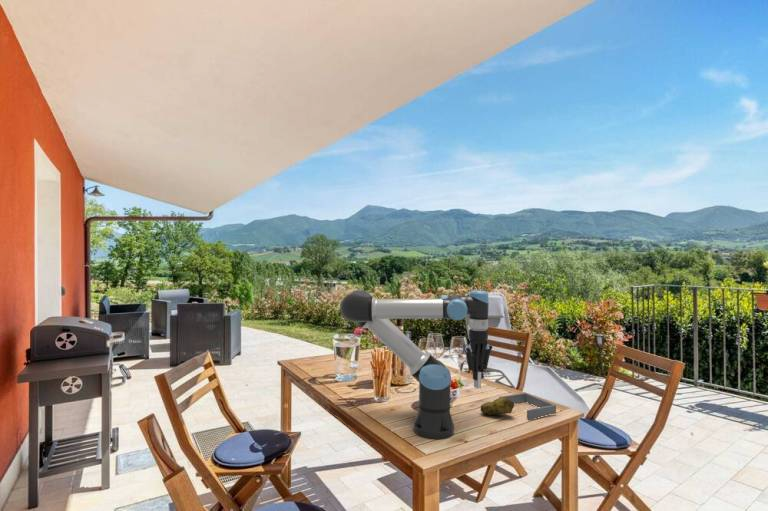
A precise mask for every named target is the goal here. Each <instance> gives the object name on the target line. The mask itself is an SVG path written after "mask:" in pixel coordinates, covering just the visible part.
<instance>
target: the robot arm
mask: <svg viewBox="0 0 768 511" xmlns="http://www.w3.org/2000/svg"><path fill="white" fill-rule="evenodd" d="M489 304H490V302H489V293H488V292H487V291H485V290H470V291H469V295H459V294H458V295H457V294H456V295H454V294H453V295H452V294H451V295H450V294H443V295H440V297H439V298H376V297H375V296H374V295H373V296H372V295H371V294H370V293H369V292H368V291H366V290H361V289H356V290H353V291H352V292H350V293H348V294H347V295H345V296H344V297H343V299H342V300H341V302H340V309H339V310H340V312H341V315H342V316H343V318H344V319H345V320H346V321H348V322H351V323H355V324H358V326H359V327H361V329H368V330H369V331H370V332H371V333H372V334H373V335H374V336H375V337H376V338H377V339H379V341H381V343H382V344H384V345H385V347H387V349H389V350H390V351H391V352H392V353H393V354H394V356H396V357H397V358H398V359H399V360H400V361H401V362H403V363H404V365H406V366H407V368H409V371H410V375H411V376H412V377H413V378H414V379H415V380H416V381H417V383H419V384H418V385H419V387H418V410H417V413H416V416H415V419H414V421H413V431H414V433H415V434H416V435H418V436H420V437H423V438H427V439H432V440H443V439H447V438H450V437H452V436H453V435H454V434H455V425H454V422H453V418H452V414H451V382H452V375H451V371H450V369H449V368H448V367H446V365H445V364H444V363H443V362H442V361H441V360H439V359H437V358H436V357H434V356H433V355H432V354H431V353H430V352H424V351H422V349H421V348H419V347H418V346H417V345H416V344H415V342H413V340H411V338H409V337H408V335H406V334H405V333H404V332H402V331H401V330H400V329H399V328H398V327H397V326H396V324H394V323H393V321H392V320H397V319H398V320H401V319H403V320H404V319H405V320H407V319H409V320H410V319H411V320H412V319H415V320H416V319H417V320H418V319H419V320H421V319H424V320H425V319H431V320H432V319H434V320H435V319H448V320H450V319H451V320H455V321H461V320H463V319H464V318H465V317H466V316H467V315H469V317H468V328H469V329H468V339H469V341H468V345H467V346H464V347H463V350H464V352H465V356H466V357H465V358H466V362H467V368H468V370H470V371H472V379H473V387H474V388H475V389H478V390H479V389H482V380H483V373H485V371H486V370H487V369H488V365H489V360H490V355H491V352H492V349H493V346H492V345H490V344H489V343H488V339H489V330H488V328H489V306H490V305H489Z"/></svg>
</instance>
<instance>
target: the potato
mask: <svg viewBox="0 0 768 511" xmlns="http://www.w3.org/2000/svg"><path fill="white" fill-rule="evenodd" d="M514 408H515V404H514V403H513V401H512V400H510V399H509V398H506V397H503V398H499V397H498V398H496V399H494V400H493V401H489V402H485V403H482V404H481V405H480V412H481V413H482V414H484V415H489V416H502V415H506V414H512V411H513V409H514Z"/></svg>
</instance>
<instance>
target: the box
mask: <svg viewBox="0 0 768 511" xmlns="http://www.w3.org/2000/svg"><path fill="white" fill-rule="evenodd" d="M503 397H506V398H509V399H510V400H512V401H513V403H518V404H521V403H520V402H524V403H526V402H528V403H530V404H533V405H535V406H537V407H540V408H537V407H535V406H534V407H535V408H529V409H527V411H526V420H527V419H528V420H527V421H531V420H530V419H533V420H535V419H534V418H538V417H541V416H545V415H549V414H554V413H556V414H557V405H556V404H555V403H551V402H549V401H546V400H545V399H542V398H539V397H537V396H534V395H532V394H530V393H527V392H521V393H515V394H510V395H503V396H499V397H498V398H503ZM528 403H527V404H528ZM530 404H529V405H530ZM533 405H532V406H533ZM538 419H539V418H538Z"/></svg>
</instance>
